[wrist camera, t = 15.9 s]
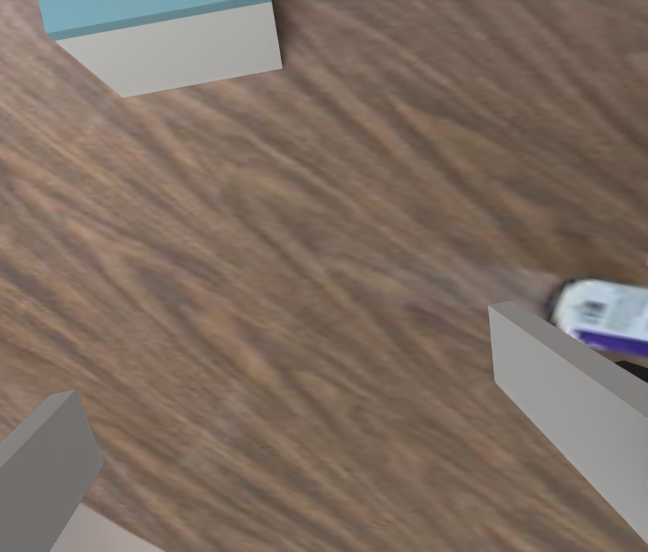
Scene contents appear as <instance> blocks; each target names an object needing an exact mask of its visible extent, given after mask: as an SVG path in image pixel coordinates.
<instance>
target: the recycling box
mask: <svg viewBox="0 0 648 552" xmlns="http://www.w3.org/2000/svg"><path fill="white" fill-rule="evenodd" d="M39 5H40V9H41V14H42V18H43V23H44V28H45V32H46V34H47V35H48V36H49V37H50V38H52V39H53V40H54V41H55V42H56V43H58V44H59V45H60V46H61V47H62V48H64V49H65V50H66V51H67V52H68V53H70V54H71V55H72V56H73V57H74V58H76V59H77V60H78V61H79V62H80V63H82V64H83V65H84V66H85V67H86V68H88V69H89V70H90V71H91V72H92V73H94V74H95V75H96V76H97V77H98V78H100V79H101V80H102V81H103V82H104V83H106V84H107V85H108V86H109V87H110V88H112V89H113V90H114V91H115V92H116V93H118V94H119V95H120V96H121V97H122V98H125V97H131V96H136V95H142V94H147V93H152V92H158V91H163V90H169V89H174V88H180V87H185V86H191V85H196V84H202V83H207V82H212V81H218V80H223V79H229V78H234V77H240V76H245V75H251V74H256V73H262V72H267V71H272V70H278V69H283V68H282V62H281V56H280V50H279V44H278V38H277V32H276V26H275V20H274V14H273V7H272V1H271V0H39Z"/></svg>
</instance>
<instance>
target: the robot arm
mask: <svg viewBox="0 0 648 552" xmlns="http://www.w3.org/2000/svg"><path fill="white" fill-rule="evenodd" d="M488 310H489V321H490V332H491V344H492V355H493V366H494V378H495V383H496V384H497V385H498V386H499V387H500V388H501V389H502V390H503V391H504V392H505V393H506V394H507V395H508V396H509V397H510V398H511V400H512V401H513V402H514V403H515V404H516V405H517V406H518V407H519V408H520V409H521V410H522V411H523V412H524V413H525V414H526V415H527V416H528V418H529V419H530V420H531V421H532V422H533V423H534V424H535V425H536V426H537V427H538V428H539V429H540V430H541V431H542V432H543V433H544V435H545V436H546V437H547V438H548V439H549V440H550V441H551V442H552V443H553V444H554V445H555V446H556V447H557V448H558V449H559V450H560V452H561V453H562V454H563V455H564V456H565V457H566V458H567V459H568V460H569V461H570V462H571V463H572V464H573V465H574V466H575V467H576V469H577V470H578V471H579V472H580V473H581V474H582V475H583V476H584V477H585V478H586V479H587V480H588V481H589V482H590V483H591V484H592V486H593V487H594V488H595V489H596V490H597V491H598V492H599V493H600V494H601V495H602V496H603V497H604V498H605V499H606V500H607V501H608V502H609V504H610V505H611V506H612V507H613V508H614V509H615V510H616V511H617V512H618V513H619V514H620V515H621V516H622V517H623V518H624V519H625V521H626V522H627V523H628V524H629V525H630V526H631V527H632V528H633V529H634V530H635V531H636V532H637V533H638V534H639V535H640V536H641V538H642V539H643V540H644V541H645V542H646V543H647V544H648V368H645V367H642V366H639V365H636V364H633V363H630V362H626V361H619V362H614V363H613V362H612V361H610V360H608V359H607V358H605V357H603V356H602V355H600V354H599V353H597V352H595V351H594V350H592V349H590V348H589V347H587V346H585V345H584V344H582V343H581V342H579V341H577V340H576V339H574V338H572V337H571V336H569V335H567V334H566V333H564V332H563V331H561V330H559V329H558V328H556V327H554V326H553V325H551V324H549V323H548V322H546V321H545V320H543V319H541V318H540V317H538V316H536V315H535V314H533V313H532V312H530V311H528V310H527V309H525V308H523V307H522V306H520V305H518V304H517V303H515V302H514V301H512V300H510V301H506V302H501V303H496V304H491V305H488ZM103 465H104V462H103V459H102V457H101V454H100V452H99V449H98V446H97V444H96V441H95V439H94V436H93V433H92V431H91V428H90V426H89V423H88V420H87V418H86V415H85V413H84V410H83V407H82V405H81V402H80V400H79V397H78V394H77V392H76V390H72V391H67V392H62V393H57V394H52V395H50V396H49V397H48V398H47V399H46V400H45V401H44V402H43V403H42V404H41V405H40V406H39V407H38V408H37V409H35V410H34V411H33V412H32V413H31V414H30V415H29V416H28V417H27V418H26V419H25V420H24V421H23V422H22V423H21V424H20V425H19V426H18V427H17V428H16V429H15V430H14V431H12V432H11V433H10V434H9V435H8V436H7V437H6V438H5V439H4V440H3V441H2V442H1V443H0V552H49V551H50V550H51V548H52V546H53V545H54V543H55V542H56V540H57V539H58V537H59V535H60V534H61V532H62V531H63V529H64V527H65V526H66V524H67V522H68V521H69V519H70V518H71V516H72V515H73V513H74V511H75V510H76V508H77V506H78V505H79V503H80V502H81V500H82V499H83V497H84V495H85V494H86V492H87V491H88V489H89V487H90V486H91V484H92V483H93V481H94V479H95V478H96V476H97V475H98V473H99V471H100V470H101V468H102V467H103Z"/></svg>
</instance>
